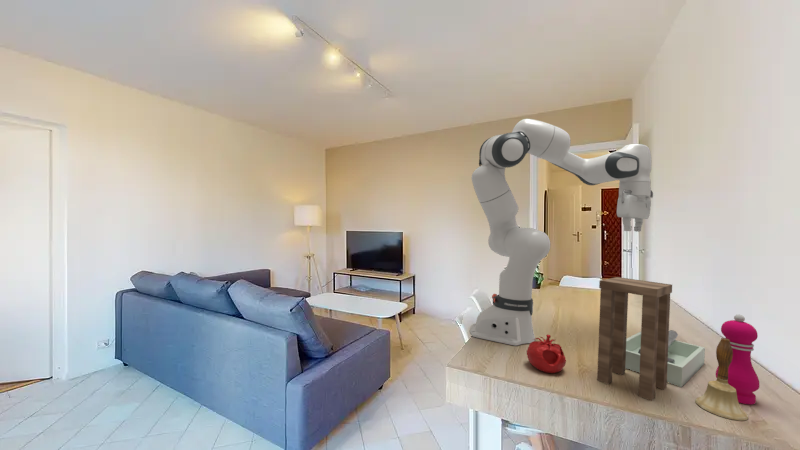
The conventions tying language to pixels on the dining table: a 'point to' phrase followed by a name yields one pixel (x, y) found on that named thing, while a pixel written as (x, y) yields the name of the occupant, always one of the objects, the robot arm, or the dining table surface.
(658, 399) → the dining table surface
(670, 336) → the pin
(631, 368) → the tray
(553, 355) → the pomegranate
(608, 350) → the stand
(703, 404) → the hand bell
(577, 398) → the dining table surface
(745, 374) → the pepper mill
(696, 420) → the dining table surface
